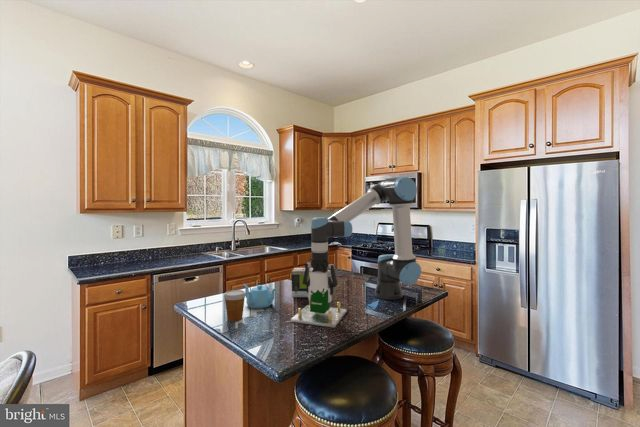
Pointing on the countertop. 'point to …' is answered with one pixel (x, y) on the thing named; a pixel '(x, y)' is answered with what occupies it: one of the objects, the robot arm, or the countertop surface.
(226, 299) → the disposable coffee cup
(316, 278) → the milk carton
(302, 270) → the tea box
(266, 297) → the teapot
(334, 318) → the white flat square slab
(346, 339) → the countertop surface
